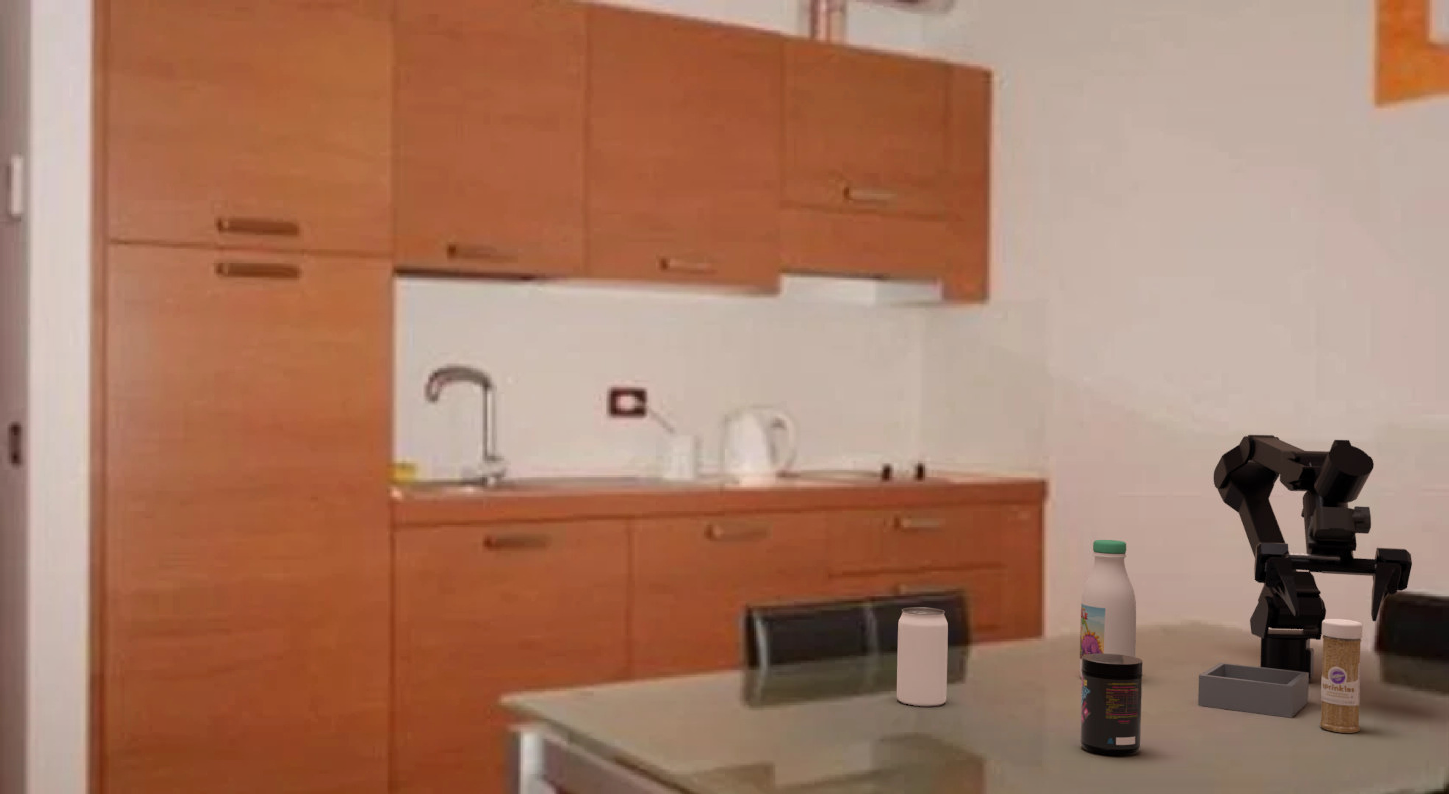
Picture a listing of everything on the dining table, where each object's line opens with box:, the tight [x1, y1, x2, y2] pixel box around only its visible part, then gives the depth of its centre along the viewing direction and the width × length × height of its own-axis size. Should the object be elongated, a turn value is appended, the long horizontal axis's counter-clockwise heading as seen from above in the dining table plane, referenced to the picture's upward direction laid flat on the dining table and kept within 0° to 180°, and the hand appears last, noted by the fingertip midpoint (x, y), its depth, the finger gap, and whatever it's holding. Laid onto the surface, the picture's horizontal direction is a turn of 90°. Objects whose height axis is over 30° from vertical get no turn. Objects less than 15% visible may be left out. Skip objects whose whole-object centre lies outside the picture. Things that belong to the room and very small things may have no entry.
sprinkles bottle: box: [1319, 618, 1363, 734], centre depth 170 cm, size 5×5×14 cm
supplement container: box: [1079, 654, 1143, 757], centre depth 157 cm, size 7×7×10 cm
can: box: [896, 606, 949, 708], centre depth 181 cm, size 6×6×12 cm
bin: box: [1197, 661, 1310, 719], centre depth 184 cm, size 12×12×4 cm
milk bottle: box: [1079, 539, 1137, 679], centre depth 199 cm, size 8×8×20 cm
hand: (1335, 616), depth 177 cm, fingers open, 9 cm apart
